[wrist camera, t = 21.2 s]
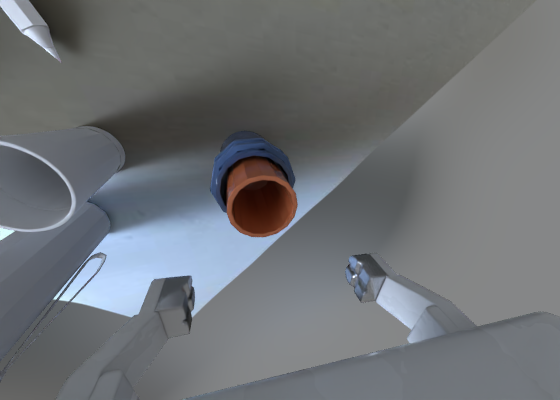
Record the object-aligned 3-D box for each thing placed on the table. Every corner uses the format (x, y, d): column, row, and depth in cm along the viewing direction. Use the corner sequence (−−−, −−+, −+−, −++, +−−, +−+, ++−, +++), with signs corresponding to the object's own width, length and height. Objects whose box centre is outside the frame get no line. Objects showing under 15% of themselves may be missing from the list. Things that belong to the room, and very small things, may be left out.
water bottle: (40, 224, 29) (-518, 621, 7) (67, 185, 27) (-533, 536, 6) (110, 252, 33) (-105, 549, 12) (137, 219, 32) (-53, 491, 10)
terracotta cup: (242, 136, 24) (250, 161, 15) (282, 161, 26) (310, 195, 18) (218, 178, 25) (214, 222, 17) (258, 198, 28) (273, 245, 19)
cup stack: (235, 119, 28) (240, 135, 18) (280, 148, 31) (306, 175, 21) (210, 166, 30) (202, 205, 20) (255, 188, 34) (267, 231, 23)
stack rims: (234, 121, 21) (235, 124, 18) (302, 164, 25) (310, 170, 22) (197, 190, 23) (194, 200, 21) (265, 219, 27) (268, 230, 25)
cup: (124, 121, 25) (54, 141, 15) (138, 180, 29) (89, 229, 19) (44, 116, 23) (-100, 135, 13) (70, 180, 27) (-27, 235, 17)
